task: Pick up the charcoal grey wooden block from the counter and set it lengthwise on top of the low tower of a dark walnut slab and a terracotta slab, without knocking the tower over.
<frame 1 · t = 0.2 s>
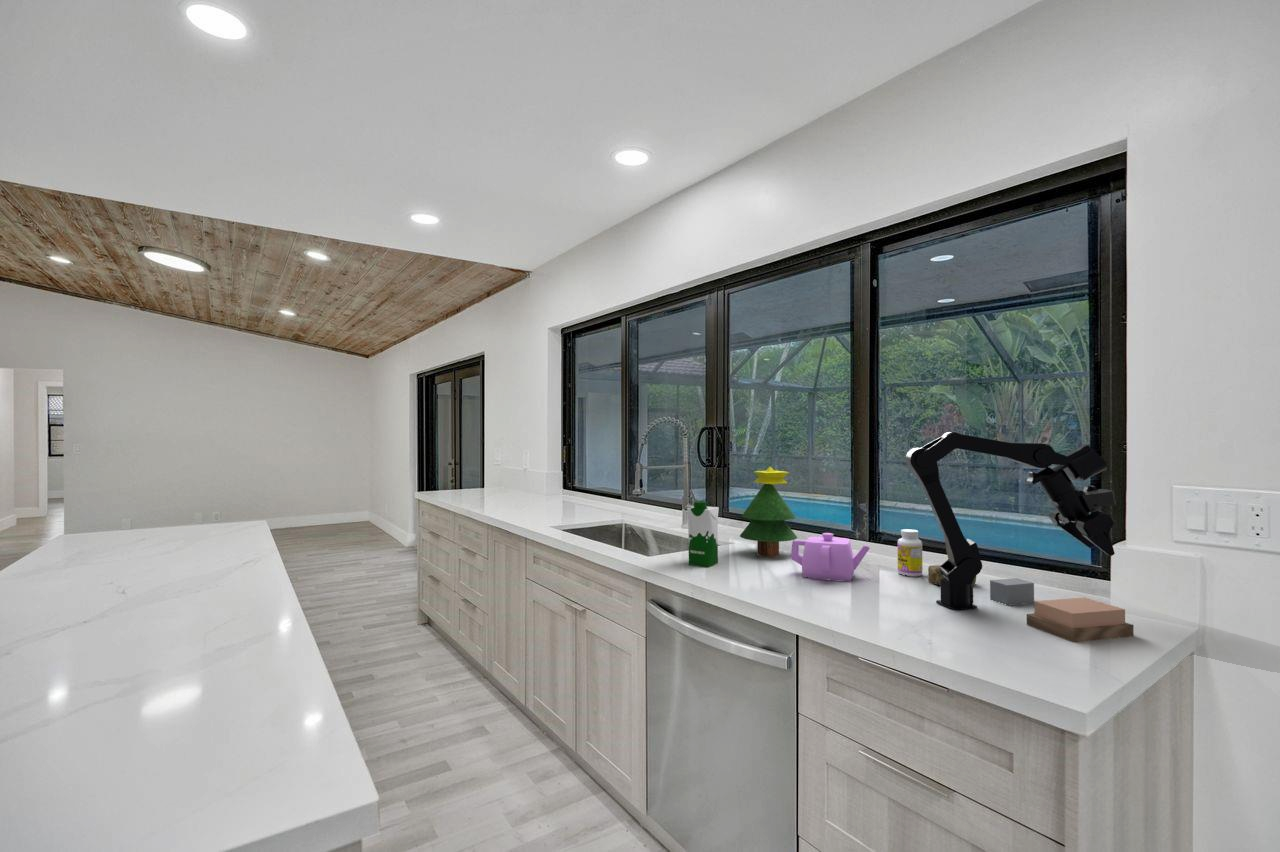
hand: (1101, 551, 136), 14 cm above the countertop, tool tilted 30°, fingers open, 9 cm apart
top slab: (1078, 619, 126), point 2 cm above the countertop, touching base slab
base slab: (1078, 633, 126), on the countertop, touching top slab
milk carton: (703, 564, 190), on the countertop
stone block: (951, 584, 164), on the countertop
supplement bottle: (910, 574, 175), on the countertop
charcoal block: (1012, 601, 147), on the countertop
teakettle: (830, 576, 175), on the countertop
decorative tree: (768, 555, 204), on the countertop
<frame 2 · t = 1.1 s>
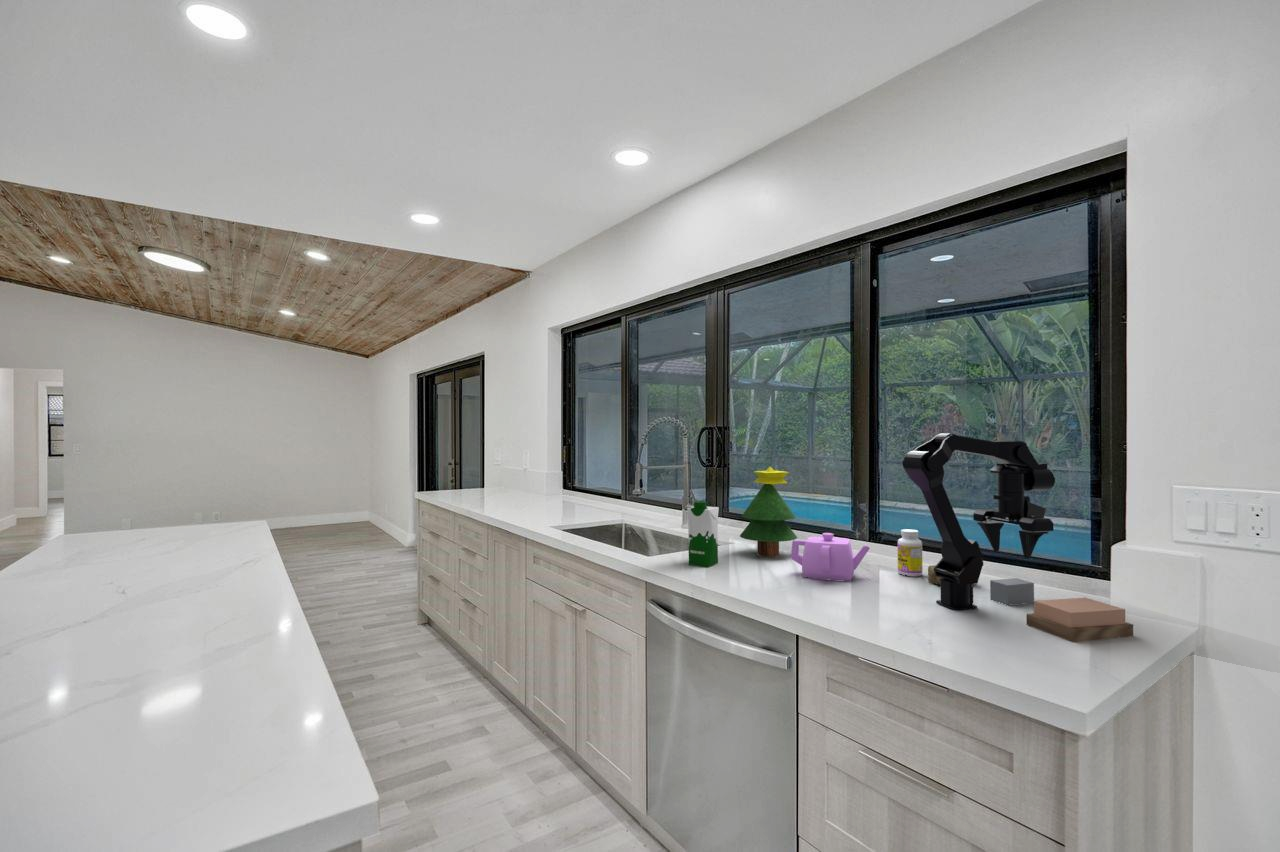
hand: (1011, 554, 147), 11 cm above the countertop, tool pointing down, fingers open, 9 cm apart
nothing on the countertop moved.
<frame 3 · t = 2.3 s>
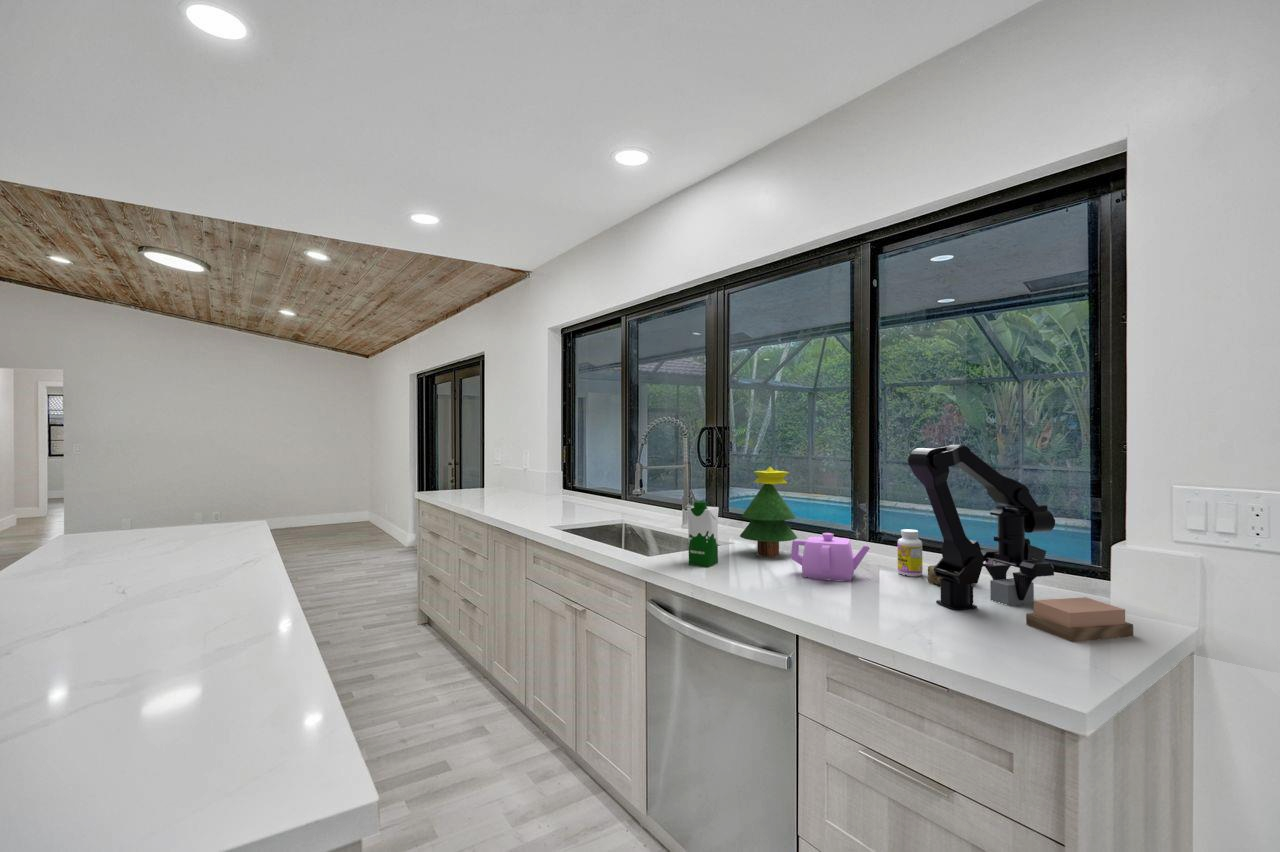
hand: (1011, 597, 147), 1 cm above the countertop, tool pointing down, fingers closed on charcoal block, 5 cm apart
charcoal block: (1011, 601, 147), on the countertop, touching gripper
everything else where it was.
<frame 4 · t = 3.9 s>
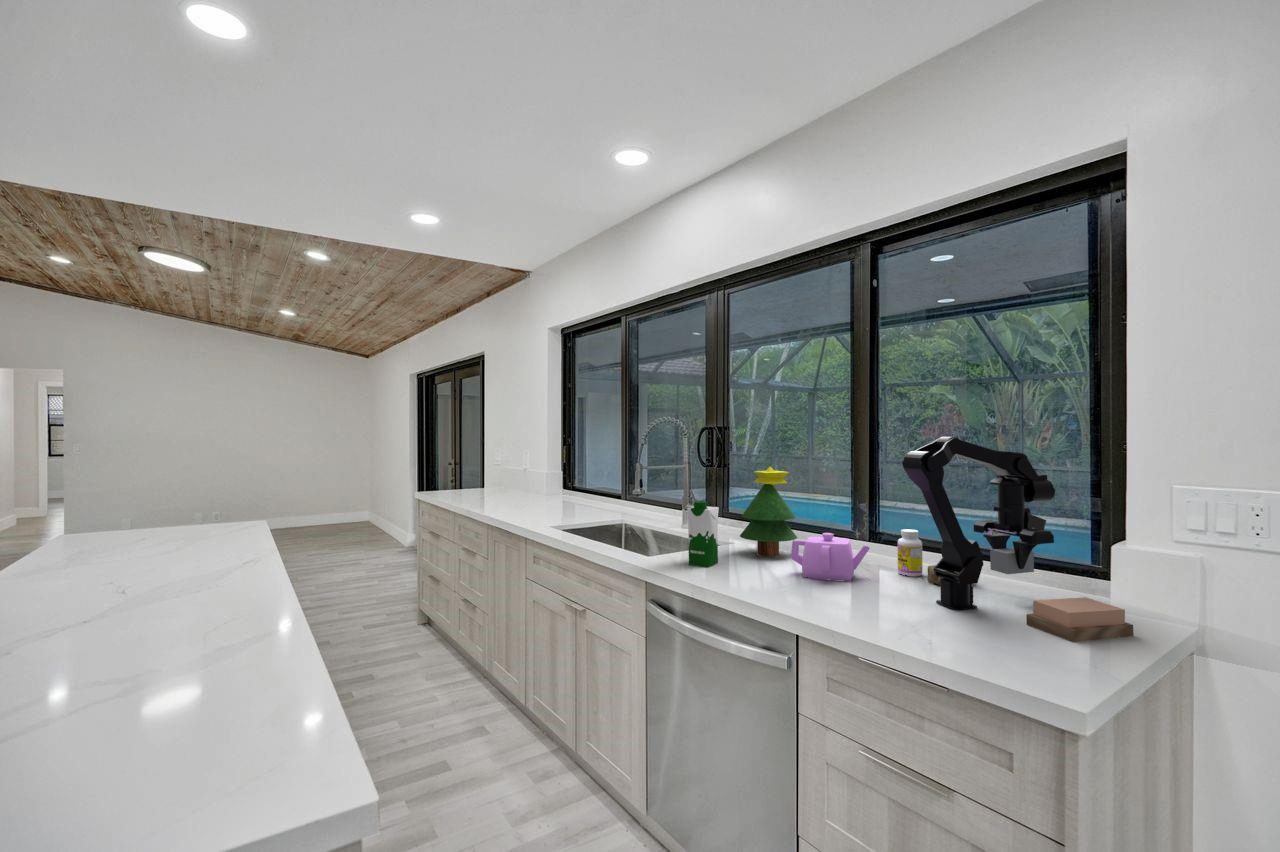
hand: (1011, 566, 147), 9 cm above the countertop, tool pointing down, fingers closed on charcoal block, 5 cm apart
charcoal block: (1012, 570, 147), point 7 cm above the countertop, touching gripper
everything else where it was.
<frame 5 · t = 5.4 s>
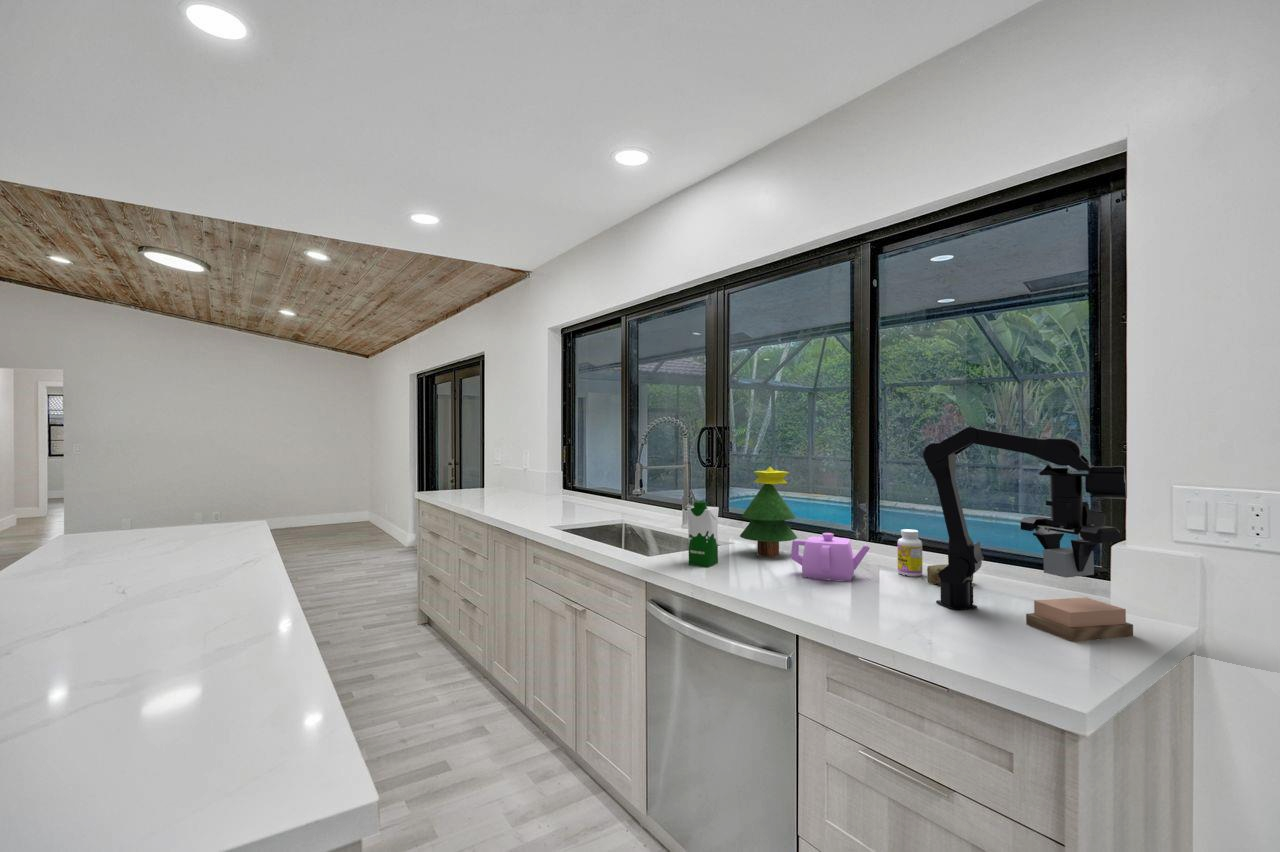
hand: (1068, 568, 129), 12 cm above the countertop, tool pointing down, fingers closed on charcoal block, 5 cm apart
charcoal block: (1068, 573, 129), point 11 cm above the countertop, touching gripper
everything else where it was.
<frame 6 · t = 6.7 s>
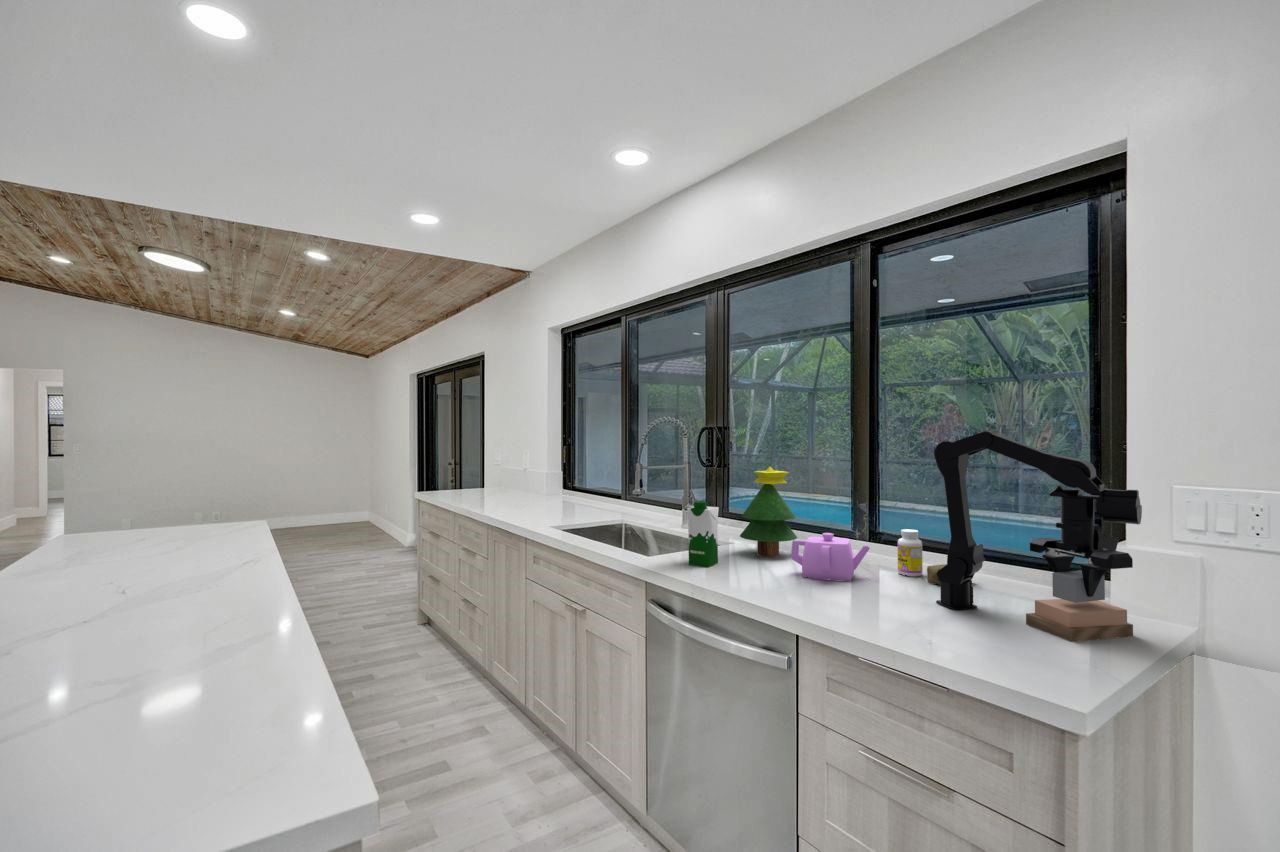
hand: (1078, 593, 126), 8 cm above the countertop, tool pointing down, fingers closed on charcoal block, 5 cm apart
charcoal block: (1078, 597, 126), point 7 cm above the countertop, touching gripper
when the fingers open (8 cm above the countertop, at t = 6.8 s): charcoal block drops 2 cm, resting on top slab.
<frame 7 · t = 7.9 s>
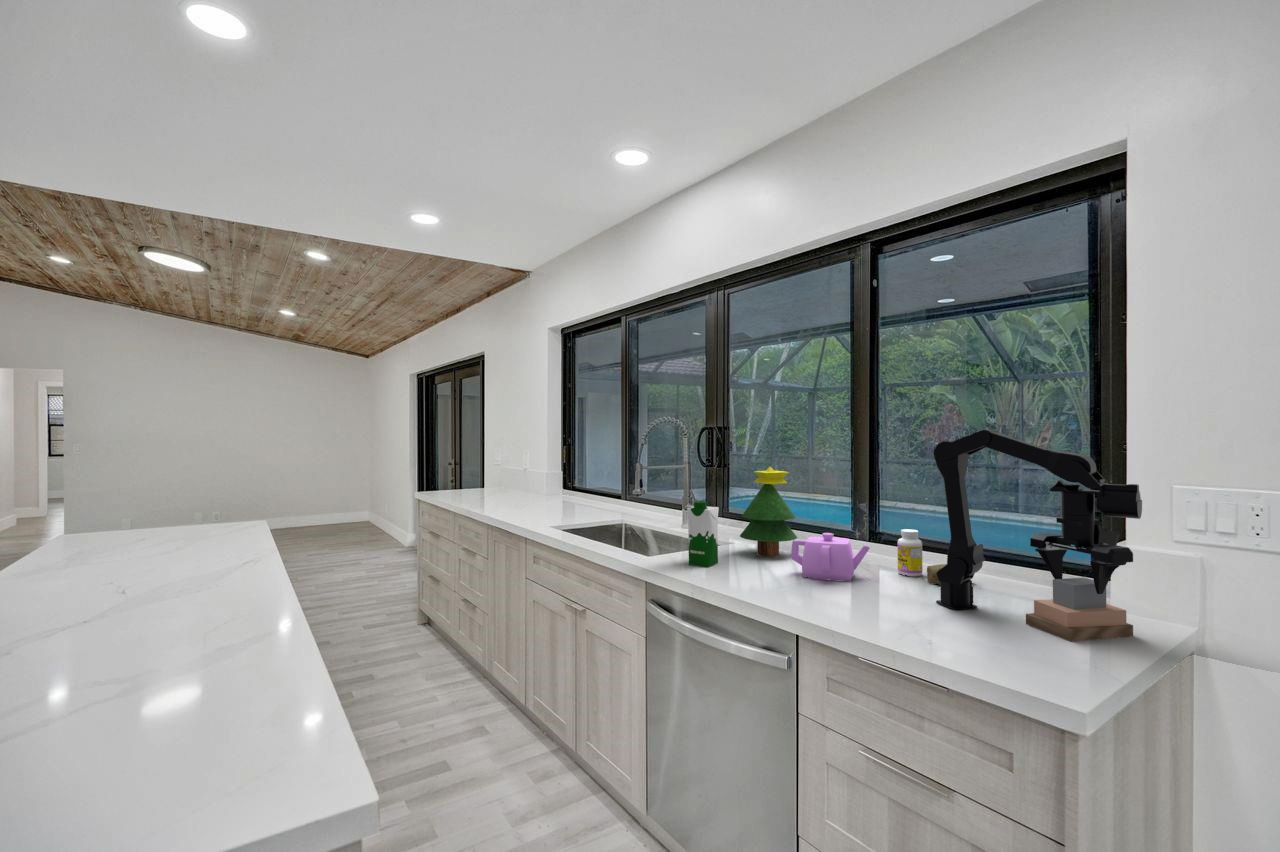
hand: (1078, 588, 126), 9 cm above the countertop, tool pointing down, fingers open, 9 cm apart
top slab: (1078, 619, 126), point 2 cm above the countertop, touching base slab, charcoal block
charcoal block: (1079, 605, 126), point 5 cm above the countertop, touching top slab
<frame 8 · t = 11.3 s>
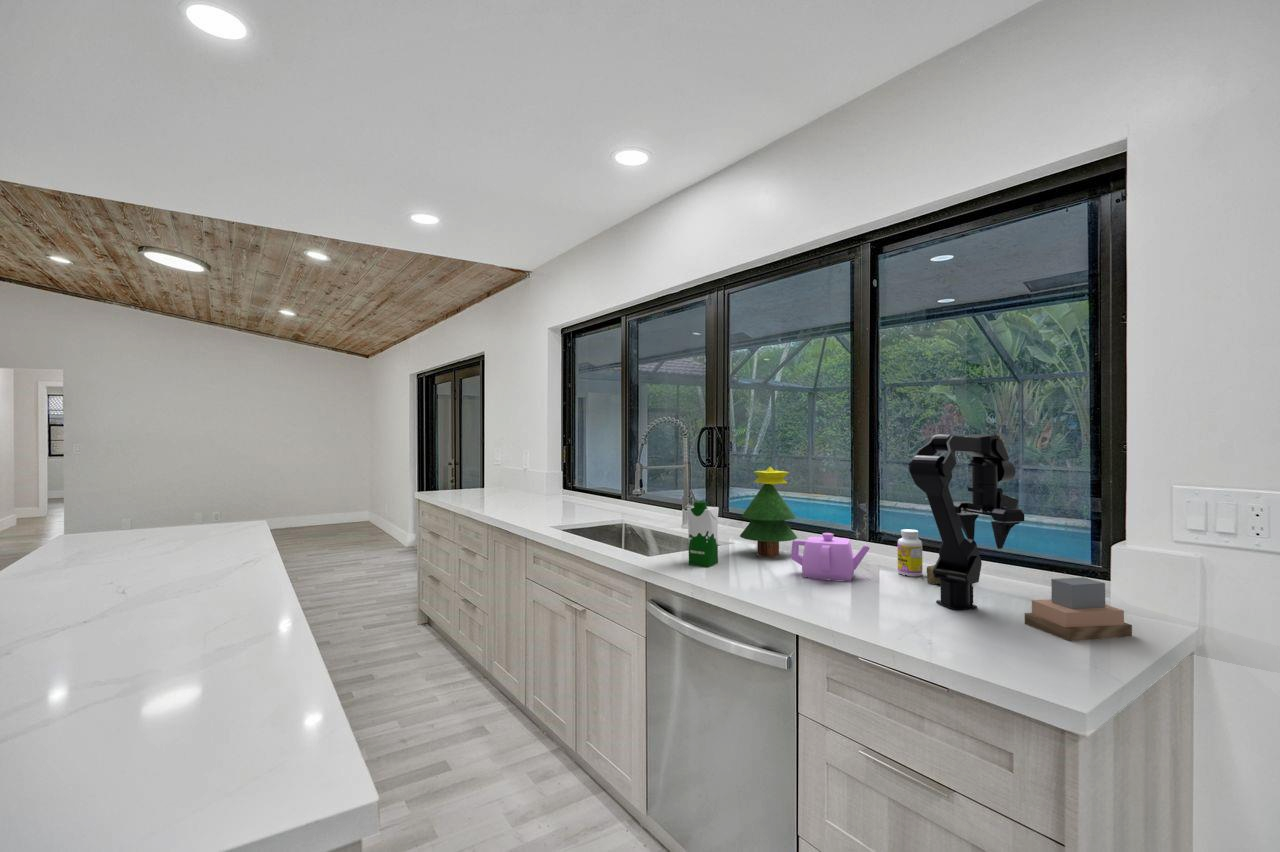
hand: (985, 545, 152), 13 cm above the countertop, tool pointing down, fingers open, 9 cm apart
top slab: (1076, 619, 126), point 2 cm above the countertop, touching base slab
charcoal block: (1078, 604, 126), point 5 cm above the countertop
at the end: charcoal block inside the target area on the base slab (0.2 cm from its centre), point 6.0 cm above the base slab's base; top slab 0.5 cm off-centre on the base slab, point 3.0 cm above the base slab's base; the gripper is holding nothing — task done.
